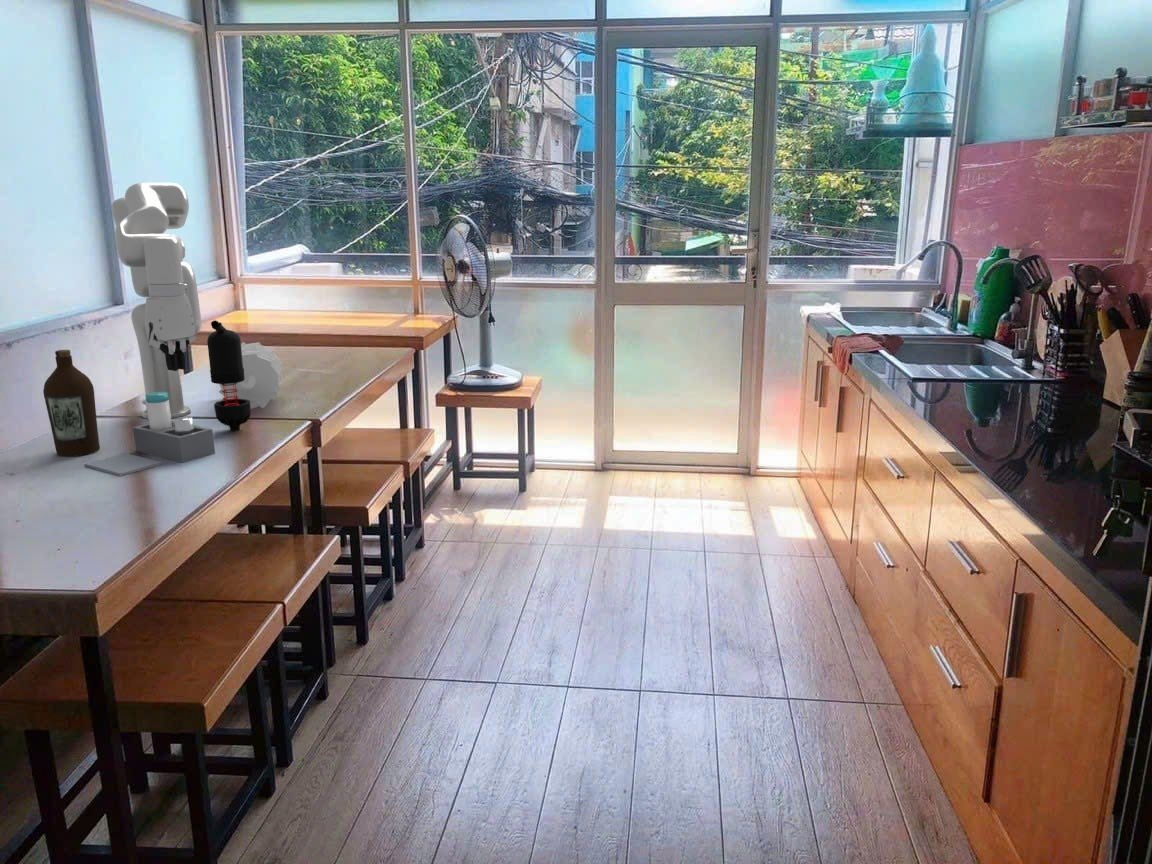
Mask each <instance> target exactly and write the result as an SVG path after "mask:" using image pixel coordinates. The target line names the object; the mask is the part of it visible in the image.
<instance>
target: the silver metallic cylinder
mask: <svg viewBox="0 0 1152 864" xmlns="http://www.w3.org/2000/svg"><path fill="white" fill-rule="evenodd" d="M172 421H173V426H174V434H175V435H178V436H183V435H187V434H191V433H194V426H195V425H194V418H193V417H192V416H181V417H176V418H172Z"/></svg>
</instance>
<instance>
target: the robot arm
mask: <svg viewBox="0 0 1152 864" xmlns="http://www.w3.org/2000/svg"><path fill="white" fill-rule="evenodd" d="M189 207H190V205H189V197H188V194H187V192H186V190H185V189H184V188H183V187H182V185H180V184H178V183H176V182H138V183H134V184H132V185H130V186H128V188H127V189H126V191H125V194H124V197H120V198H117V199H115V200H114V201H113V202H112V203H111V213H112V218H113V221H114V223H115V225H116V227H115V231H114V241H115V247H116V251H117V255H118V258H119V259H120V261H121V263H122V264H123V265H124V266H125V267H129V268H130V276H131V281H132V287H133V290H134V293H135V294H136V295H137V296H139V297H142V298H145V303H141V304H138V305H137V306H135V307H133V309H132V311H131V314H130V315H131V316H130V317H131V318H130V319H131V323H132V326H133V330H134V333H135V338H136V340H137V346H138V350H139V357H140V363H141V369H142V379H143V385H144V393H145V395H146V394H148V393H153V392H167V393H168V397H169V405H170V413H171V419H174V418H178V417H185V416H187V415H189V414H190V413H191V407H190V406H188V405H185V404H184V394H183V387H182V379H181V372H180V371H182V370H183V371H184V370H185V369H186V357H185V352H187V348H188V346H190V344H191V343H193V342H195V341H196V340H197V337H196V334H198V333H199V332H200V331H201V329H202V316H201V315H202V314H201V308H200V300H199V294H198V292H199V291H198V285H197V280H196V274H195V272H194V271H195V270H194V269H193V267H192V265H191V264H189V263H188V262H186V261H183V260H184V259H185V257H186V247H185V243H184V241H183V240H182V239H181V237H180V236H179V235H176V234H174V233H165V232H166V231H167V230H177V229H181V228H182V227H184V226H185V224H186V221H187V217H188V214H189V209H190V208H189ZM141 403H142V405H145V407H146V408H145V410H142V412H141V417H142V418H144V419H147V420H149V418H148V411H147V403H146V397H145V399H142V400H141Z"/></svg>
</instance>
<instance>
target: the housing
mask: <svg viewBox="0 0 1152 864" xmlns="http://www.w3.org/2000/svg"><path fill="white" fill-rule="evenodd" d="M171 421H172V427H170V428H166V429H162V430H158V431H155V430H151V429H150V426H149V423H145V424H142V425H137V426H135V427H134V426H133V427H132V432H133V438H134V447H135V451H136V452H137V451H138V453H142V454H146V455H150V456H154V457H158V458H162V457H163V458H162V459H166V458H167V460H170V459H171V461H174V460H175V461H176V462H178V461H179V463H182V462H183V463H185V461H186V462H189V461H192V460H196V459H199V458H200V459H201V458H202V457H206V456H210V455H214V454H215V453H216V451H215V441H214V432H213V428H208V427H204V426H203V427H202V426H199V425H194V433H191V434H187V435H183V436H178V435H175V434H174V426H173V420H171Z"/></svg>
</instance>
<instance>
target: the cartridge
mask: <svg viewBox="0 0 1152 864" xmlns="http://www.w3.org/2000/svg"><path fill="white" fill-rule="evenodd" d="M145 398H146V403H147V409H146V410H147V411H148V418H149V419H148V424H149V426H150V429H151V430H155V431H158V430H162V429H166V428H170V427H172V421H173V420H172V418H171V413H170V405H169V397H168V393H167V392H153V393H148V394H145Z"/></svg>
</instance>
